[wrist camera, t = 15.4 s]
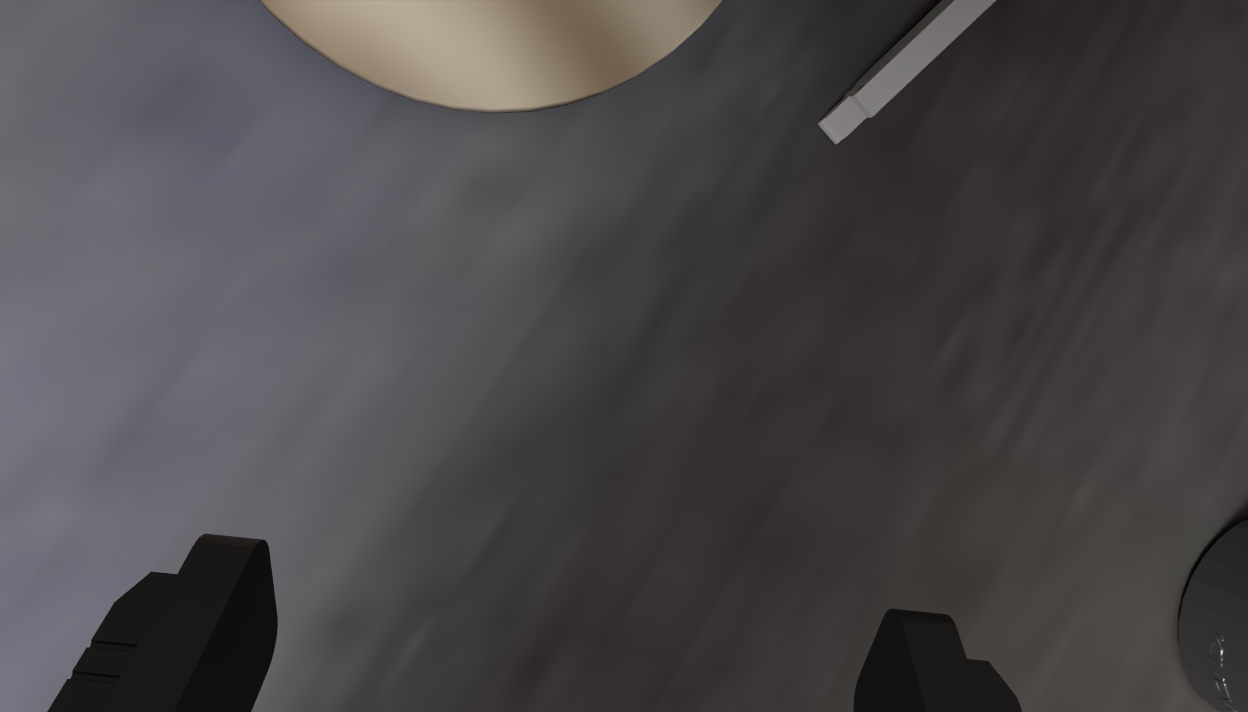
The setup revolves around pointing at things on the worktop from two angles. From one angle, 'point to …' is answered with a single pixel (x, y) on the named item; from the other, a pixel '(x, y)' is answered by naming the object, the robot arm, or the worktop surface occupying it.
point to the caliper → (901, 65)
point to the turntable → (493, 45)
